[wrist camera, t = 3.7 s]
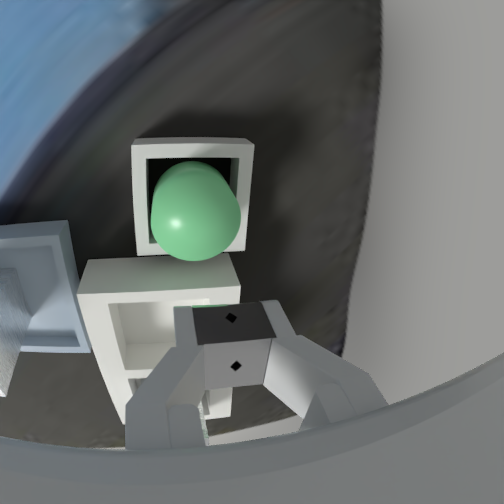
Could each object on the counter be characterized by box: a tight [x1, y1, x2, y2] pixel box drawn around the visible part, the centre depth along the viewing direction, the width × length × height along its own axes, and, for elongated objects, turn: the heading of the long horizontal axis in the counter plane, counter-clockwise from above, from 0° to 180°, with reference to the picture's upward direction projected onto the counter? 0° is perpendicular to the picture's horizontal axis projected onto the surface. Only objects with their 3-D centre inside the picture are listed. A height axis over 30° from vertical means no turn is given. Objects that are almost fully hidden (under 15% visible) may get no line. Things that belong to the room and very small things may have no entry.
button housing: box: [131, 137, 254, 256], centre depth 17 cm, size 6×6×2 cm
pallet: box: [76, 253, 241, 424], centre depth 21 cm, size 14×9×4 cm, turn 174°
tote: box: [0, 220, 92, 353], centre depth 16 cm, size 9×12×2 cm
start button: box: [151, 161, 241, 261], centre depth 15 cm, size 4×4×3 cm
